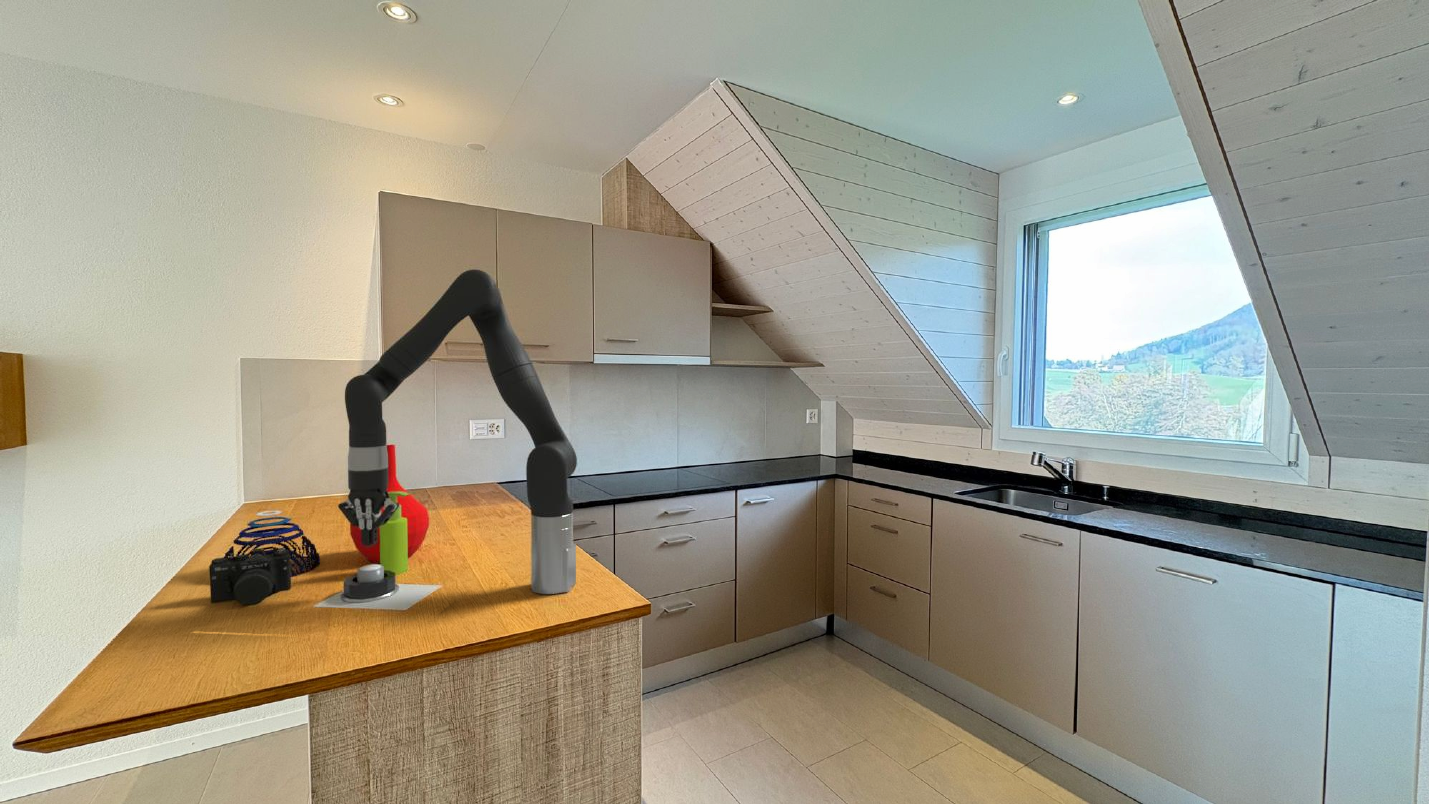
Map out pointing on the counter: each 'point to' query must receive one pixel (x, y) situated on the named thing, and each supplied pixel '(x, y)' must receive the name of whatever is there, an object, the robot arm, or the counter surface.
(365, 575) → the cap
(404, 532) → the soap dispenser
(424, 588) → the mat
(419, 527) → the vase
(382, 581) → the black faceted bowl
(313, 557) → the decorative bowl
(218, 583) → the camera
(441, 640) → the counter surface
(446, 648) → the counter surface
